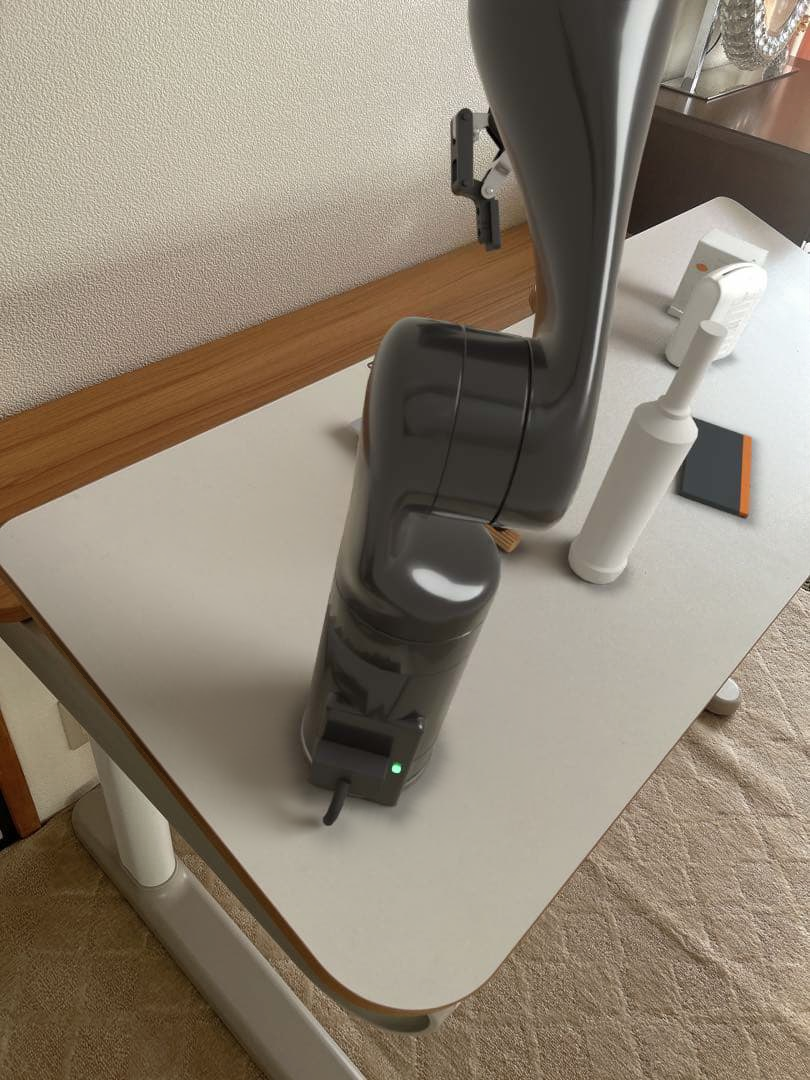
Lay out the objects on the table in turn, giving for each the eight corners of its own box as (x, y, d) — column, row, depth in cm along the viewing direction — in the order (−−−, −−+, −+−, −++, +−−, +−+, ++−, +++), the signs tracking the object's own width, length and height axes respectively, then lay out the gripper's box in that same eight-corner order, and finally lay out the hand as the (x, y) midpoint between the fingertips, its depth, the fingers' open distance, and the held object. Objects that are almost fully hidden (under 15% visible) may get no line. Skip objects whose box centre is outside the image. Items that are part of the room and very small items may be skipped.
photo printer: (708, 338, 114) (753, 250, 105) (733, 357, 112) (781, 268, 103) (657, 354, 108) (700, 263, 100) (682, 374, 106) (728, 282, 98)
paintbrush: (375, 400, 86) (531, 526, 79) (369, 421, 88) (521, 546, 81) (346, 413, 83) (505, 544, 76) (341, 435, 85) (496, 565, 78)
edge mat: (746, 518, 89) (749, 514, 89) (679, 495, 90) (682, 490, 89) (749, 441, 99) (752, 437, 99) (689, 420, 100) (691, 416, 99)
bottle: (579, 588, 78) (701, 349, 60) (556, 545, 81) (666, 307, 63) (630, 583, 79) (763, 349, 62) (605, 541, 83) (725, 308, 65)
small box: (733, 323, 118) (771, 251, 111) (721, 339, 114) (760, 265, 107) (678, 298, 120) (712, 225, 113) (665, 313, 116) (699, 239, 109)
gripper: (456, 11, 63) (471, 249, 67) (642, 7, 66) (646, 236, 69) (433, 45, 70) (447, 257, 74) (601, 40, 73) (607, 246, 77)
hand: (543, 247), depth 72 cm, fingers open, 8 cm apart
